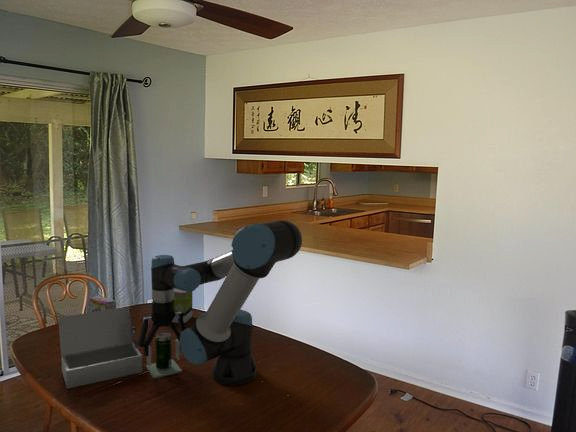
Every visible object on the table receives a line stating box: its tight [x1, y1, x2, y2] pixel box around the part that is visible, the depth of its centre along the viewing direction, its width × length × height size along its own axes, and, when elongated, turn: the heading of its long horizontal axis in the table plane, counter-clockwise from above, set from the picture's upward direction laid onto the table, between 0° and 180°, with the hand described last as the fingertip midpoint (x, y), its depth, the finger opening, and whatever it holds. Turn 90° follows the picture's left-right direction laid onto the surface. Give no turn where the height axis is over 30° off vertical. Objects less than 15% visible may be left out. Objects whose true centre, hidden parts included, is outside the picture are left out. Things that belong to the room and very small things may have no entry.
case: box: [58, 306, 143, 389], centre depth 163 cm, size 18×25×18 cm
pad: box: [145, 359, 183, 380], centre depth 165 cm, size 10×10×1 cm
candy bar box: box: [88, 295, 117, 313], centre depth 190 cm, size 11×5×16 cm, turn 58°
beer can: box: [155, 332, 172, 371], centre depth 164 cm, size 5×5×12 cm
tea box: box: [172, 288, 193, 324], centre depth 214 cm, size 15×10×15 cm, turn 81°
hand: (163, 361), depth 165 cm, fingers open, 9 cm apart
